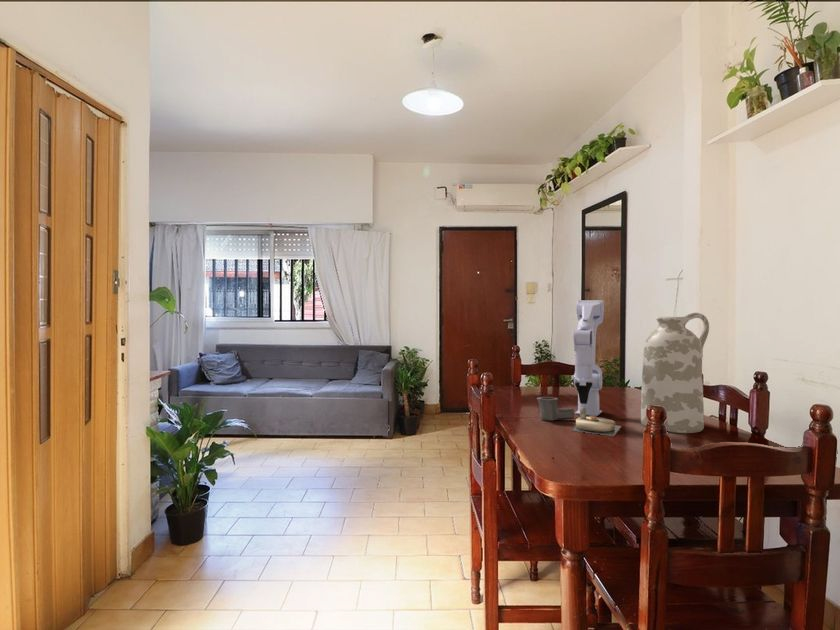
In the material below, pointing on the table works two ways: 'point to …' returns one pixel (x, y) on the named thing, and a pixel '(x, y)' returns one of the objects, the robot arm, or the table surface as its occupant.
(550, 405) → the pipe
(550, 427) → the table surface
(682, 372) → the vase
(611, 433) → the base plate
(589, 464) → the table surface
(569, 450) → the table surface
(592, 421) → the beige low round piece
